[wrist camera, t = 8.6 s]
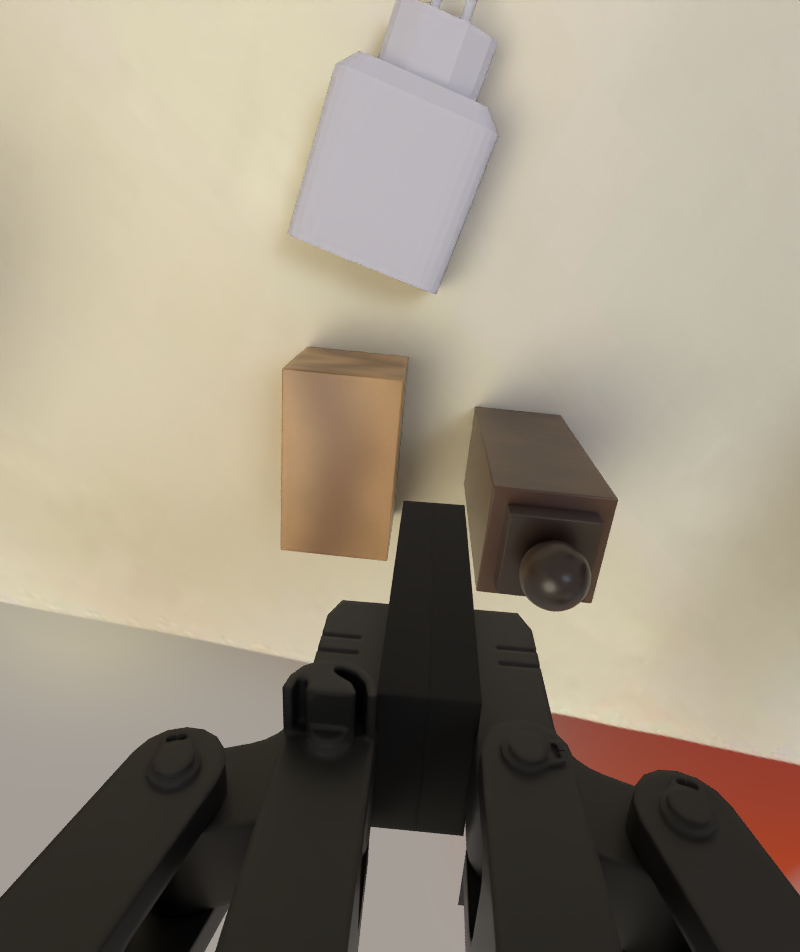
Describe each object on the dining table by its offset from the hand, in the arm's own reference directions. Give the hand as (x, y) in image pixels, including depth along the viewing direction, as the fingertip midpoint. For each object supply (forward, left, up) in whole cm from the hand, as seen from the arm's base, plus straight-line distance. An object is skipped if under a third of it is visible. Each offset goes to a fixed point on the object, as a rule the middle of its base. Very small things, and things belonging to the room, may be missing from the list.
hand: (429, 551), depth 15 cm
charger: (+3, -13, -27) cm, 30 cm away
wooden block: (+5, +6, -27) cm, 28 cm away
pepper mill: (-2, +6, -26) cm, 27 cm away
